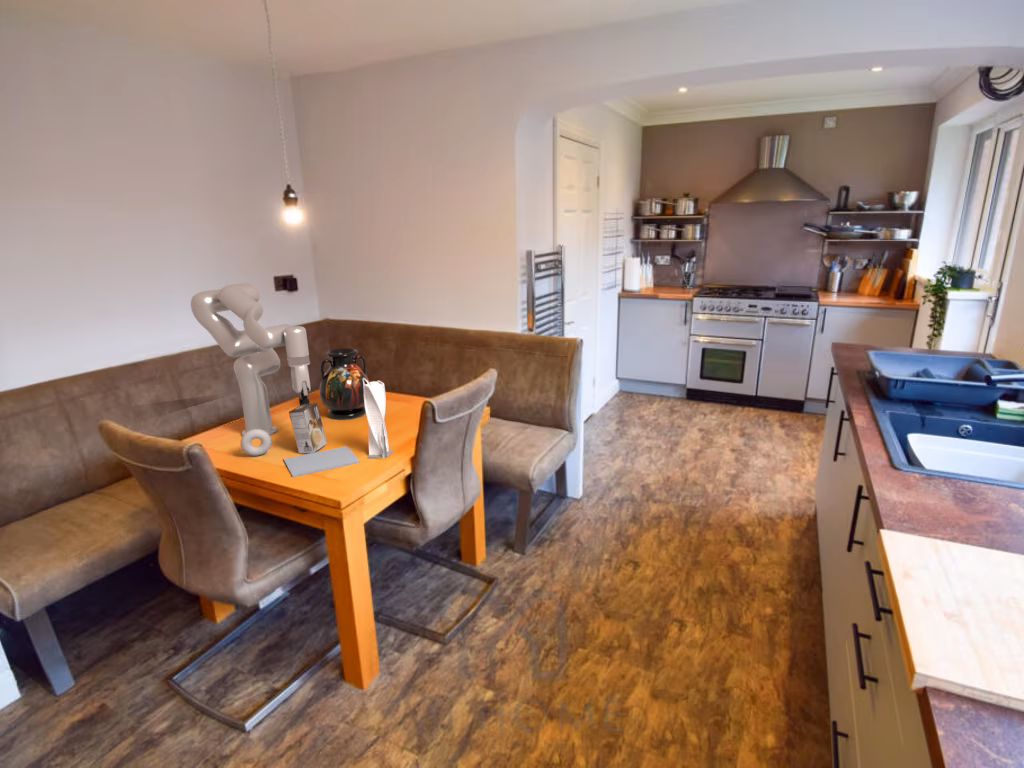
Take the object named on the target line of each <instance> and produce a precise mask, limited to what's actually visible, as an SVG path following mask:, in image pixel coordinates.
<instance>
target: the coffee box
mask: <svg viewBox="0 0 1024 768" xmlns="http://www.w3.org/2000/svg"><path fill="white" fill-rule="evenodd" d="M288 414H289V419H290V422H291V427H292V431H293V435H294V438H295V443H296V447H297V451H298V454H299V455H300V454H301V455H302V454H309V453H314V452H318V450H320V449H321V448H323V447H324V446H326V445H327V444H328V443H327V438H326V434H325V430H324V424H323V421H322V417H321V413H320V409H319V404H318V402H314V403H313V402H312V403H309V404H302V405H300V404H299V405H298V406H297V407H295V408H293V409H291V410H289V411H288Z"/></svg>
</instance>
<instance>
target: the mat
mask: <svg viewBox="0 0 1024 768" xmlns="http://www.w3.org/2000/svg"><path fill="white" fill-rule="evenodd" d="M283 461H284V464H285V466H286V465H287V466H286V467H287V469H288V471H289V473H290V475H291V476H292V478H294V477H299V476H304V475H308V474H312V473H317V472H322V471H326V470H327V471H328V470H331V469H337V468H340V467H344V466H349V464H350V465H353V463H354V464H358V463H357V462H359V463H360V459H359V458H358V457H357V456H356V455H355V453H354V452H353V451H352V450H351V449H350V448H349V447H348V446H347V445H343V446H340V447H335V448H330V449H329V448H328V449H325V450H320V451H316V452H314V453H303V454H301V455H300V454H299V455H295V456H292V457H291V456H290V457H285V458H283Z"/></svg>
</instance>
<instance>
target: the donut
mask: <svg viewBox="0 0 1024 768" xmlns="http://www.w3.org/2000/svg"><path fill="white" fill-rule="evenodd" d="M255 439H258V440H259V441H261V442H260V444H259V445H258V446H255V445H252V441H253V440H255ZM271 445H272V438H271V436H270V435H269V434H268V433H267V432H265V431H264V430H261V429H253V430H249V431H248V432H246V433H245V434H244V435H242V436H241V439H240V447H241V450H242V451H243V452H244V454H247V455H248V456H252V457H259V456H262V455H264V454H266V453H267V452H268V451H269V450H270V449H271Z"/></svg>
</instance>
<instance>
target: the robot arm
mask: <svg viewBox="0 0 1024 768" xmlns="http://www.w3.org/2000/svg"><path fill="white" fill-rule="evenodd" d="M260 297H261V296H260V292H259V290H258V289H257V287H255V285H253V284H251V283H248V282H243V283H235V284H234V283H233V284H227V285H225V286H223V287H222V288H220V289H219V288H218V289H211V290H210V289H209V290H205V291H200V292H197V293H196V294H195V295H193V296H192V298H191V299H190V309H191V312H192V314H193V316H194V318H195V319H196V321H197V323H199V324H200V326H202V327H203V328H204V329H205V330H206V331H207V332H208V333H209V334H210V335H211V337H212V338H213V339H214V341H215V342H216V344H217V345H218V346H219V347H220V348H221V350H222V351H223V353H225V354H226V355H227V356H228V357H230V358H236V359H235V361H234V363H233V371H234V373H235V376H236V380H237V382H238V387H239V391H240V397H241V406H242V412H243V419H244V420H243V421H244V426H245V428H244V429H243V430H242V431H241V434H242V436H243V435H244V434H245V433H246V432H248V431H249V430H253V429H261V430H264V431H265V432H267V433H268V434H269V436H270V435H273V434H274V432H275V433H276V432H277V429H278V428H277V426H276V425H274V424H273V422H272V417H271V416H272V415H271V409H270V402H269V401H270V399H269V395H268V388H267V385H266V383H265V382H264V381H263V380H262V377H264V376H267V375H271V374H274V373H277V372H278V371H279V369H280V367H281V360H280V357H279V355H278V353H277V352H276V351H275V350H274V348H278V347H284V346H285V351H286V358H287V365H288V367H290V377H291V385H292V389H293V391H294V392H295V393H296V394H298V395H297V396H298V403H299V406H300V405H302V404H310V399H309V392H311V381H310V373H309V372H310V371H309V367H308V366H309V365H310V364H311V359H310V352H309V344H308V337H307V335H308V334H307V329H306V328H305V327H304V326H300V325H291V324H278V325H274V326H268V327H264V326H262V325H261V324H260V323H259V322H258V321H259V320H260V319H261V318H262V316H263V313H264V308H263V306H262V304H261V303H259V301H260ZM226 311H230V312H232V313H233V314H234V315H236V316H237V317H238V319H240V320H241V321H243V323H242V325H243V329H244V330H238V329H237V328H236V327H235V326H234V324H233V323H232V322H231V321H230V320H229V319H227V318H226V317H225V316H223V315H220V314H219V313H220V312H221V313H222V312H226Z"/></svg>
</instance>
